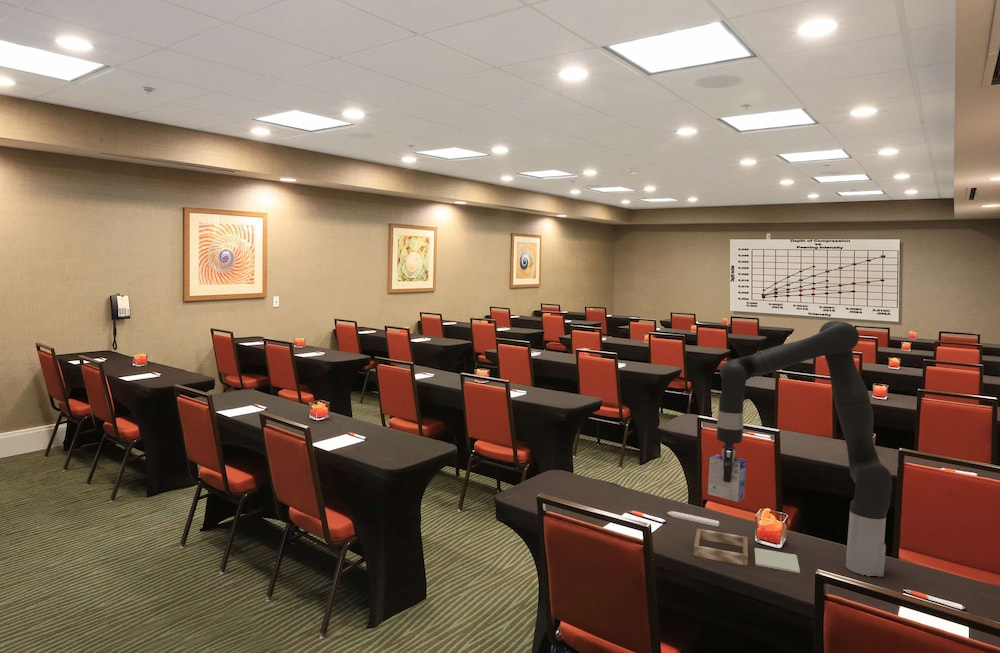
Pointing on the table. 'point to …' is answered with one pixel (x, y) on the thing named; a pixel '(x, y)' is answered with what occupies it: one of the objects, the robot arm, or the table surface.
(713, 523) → the marker
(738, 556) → the maple sleeve
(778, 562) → the sage pad
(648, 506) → the table surface
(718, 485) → the ink cartridge box
